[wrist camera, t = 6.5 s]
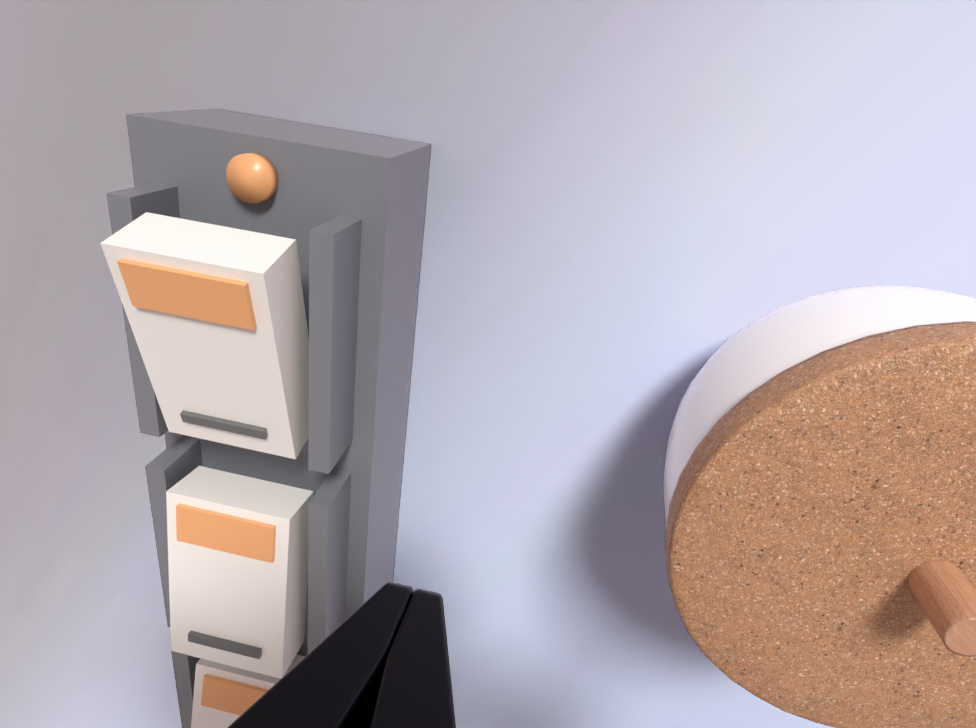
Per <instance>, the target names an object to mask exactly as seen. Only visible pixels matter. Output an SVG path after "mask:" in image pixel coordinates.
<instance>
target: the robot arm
mask: <svg viewBox="0 0 976 728" xmlns="http://www.w3.org/2000/svg"><path fill="white" fill-rule="evenodd" d="M227 728H456V724H455V714H454V704H453V694H452V685H451V675H450V665H449V655H448V646H447V636H446V626H445V616H444V607H443V598H442V596H441V595H440V594H439V593H435V592H431V591H427V590H423V589H417V590H416V591H415V592H414V589H413V588H412V587H410V586H406V585H401V584H397V583H393V582H389V583H386V584H385V585H384V586H383V587H381V588H380V589H379V590H378V591H377V592H376V593H375V594H374V595H373V596H372V597H370V598H369V599H368V600H367V601H366V602H365V603H364V604H363V605H362V606H361V607H359V608H358V609H357V610H356V611H355V612H354V613H353V614H352V615H351V616H350V617H348V618H347V619H346V620H345V621H344V622H343V623H342V624H341V625H340V626H339V627H337V628H336V629H335V630H334V631H333V632H332V633H331V634H330V635H329V636H328V637H326V638H325V639H324V640H323V641H322V642H321V643H320V644H319V645H318V646H317V647H315V648H314V649H313V650H312V651H311V652H310V653H309V654H308V655H307V656H306V657H304V658H303V659H302V660H301V661H300V662H299V663H298V664H297V665H296V666H295V667H293V668H292V669H291V670H290V671H289V672H288V673H287V674H286V675H285V676H284V677H282V678H281V679H280V680H279V681H278V682H277V683H276V684H275V685H274V686H273V687H271V688H270V689H269V690H268V691H267V692H266V693H265V694H264V695H263V696H262V697H260V698H259V699H258V700H257V701H256V702H255V703H254V704H253V705H252V706H251V707H249V708H248V709H247V710H246V711H245V712H244V713H243V714H242V715H241V716H240V717H238V718H237V719H236V720H235V721H234V722H233V723H232V724H231V725H230V726H229V727H227Z"/></svg>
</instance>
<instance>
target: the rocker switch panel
mask: <svg viewBox="0 0 976 728" xmlns="http://www.w3.org/2000/svg"><path fill="white" fill-rule="evenodd" d="M126 118H127V126H128V134H129V142H130V151H131V159H132V167H133V176H134V184H135V187H134V188H129V189H125V190H120V191H116V192H111V193H107V200H108V207H109V214H110V221H111V228H112V235H113V234H115V233H116V232H118V231H119V230H120V229H122V228H123V227H125V226H126V225H128V224H129V223H131V222H132V221H134V220H135V219H137V218H138V217H140V216H141V215H143V214H144V213H146V212H148V213H154V214H159V215H165V216H170V217H175V218H181V219H186V220H192V221H197V222H203V223H208V224H214V225H219V226H225V227H230V228H236V229H241V230H247V231H252V232H258V233H263V234H269V235H274V236H280V237H285V238H290V239H296V243H297V251H298V259H299V266H300V274H301V282H302V290H303V297H304V305H305V313H306V321H307V329H308V336H309V438H308V440H307V441H306V443H305V445H304V446H303V448H302V450H301V451H300V453H299V455H298V456H297V458H296V459H292V458H287V457H282V456H278V455H273V454H269V453H264V452H260V451H255V450H250V449H246V448H241V447H237V446H232V445H228V444H223V443H218V442H214V441H209V440H205V439H200V438H196V437H191V436H187V435H182V434H177V433H173V432H169V431H168V428H167V425H166V422H165V419H164V417H163V414H162V411H161V408H160V406H159V403H158V400H157V397H156V395H155V392H154V389H153V386H152V384H151V381H150V378H149V375H148V373H147V370H146V367H145V364H144V362H143V359H142V356H141V353H140V351H139V348H138V345H137V342H136V340H135V337H134V334H133V331H132V329H131V326H130V323H129V320H128V317H127V315H126V312H125V309H124V306H123V304H122V306H123V313H124V320H125V327H126V334H127V341H128V348H129V355H130V362H131V369H132V376H133V383H134V390H135V398H136V405H137V412H138V419H139V426H140V433H144V434H149V435H153V436H158V437H160V436H162V435H163V434H164V433H165V440H166V450H165V451H163V452H162V453H161V454H160V455H159V456H157V457H156V458H155V459H154V460H153V461H151V462H150V463H149V464H148V465H147V466H145V468H146V475H147V482H148V489H149V496H150V503H151V511H152V518H153V525H154V532H155V539H156V546H157V553H158V560H159V567H160V574H161V581H162V588H163V595H164V602H165V609H166V616H167V623H168V627H170V601H169V568H168V536H167V503H166V491H167V490H169V489H170V488H171V487H173V486H174V485H175V484H176V483H178V482H179V481H180V480H182V479H183V478H184V477H185V476H187V475H188V474H189V473H191V472H192V471H193V470H194V469H196V468H197V467H198V466H203V467H207V468H212V469H216V470H221V471H225V472H230V473H234V474H239V475H243V476H248V477H252V478H256V479H261V480H265V481H270V482H274V483H279V484H283V485H288V486H292V487H297V488H301V489H306V490H310V491H313V497H312V499H311V500H310V502H309V503H308V585H307V600H306V616H305V632H304V642H303V644H302V646H301V647H300V649H299V651H298V652H297V655H301V656H305V657H306V656H307V655H308V654H309V653H310V652H311V651H312V650H313V649H314V648H315V647H317V646H318V645H319V644H320V643H321V642H322V641H323V640H324V639H325V638H326V637H328V636H329V635H330V634H331V633H332V632H333V631H334V630H335V629H336V628H337V627H339V626H340V625H341V624H342V623H343V622H344V621H345V620H346V619H347V618H348V617H350V616H351V615H352V614H353V613H354V612H355V611H356V610H357V609H358V608H359V607H361V606H362V605H363V604H364V603H365V602H366V601H367V600H368V599H369V598H370V597H372V596H373V595H374V594H375V593H376V592H377V591H378V590H379V589H380V588H381V587H383V586H384V585H385V584H386V583H389V582H393V575H394V564H395V552H396V541H397V529H398V518H399V507H400V495H401V484H402V473H403V461H404V450H405V438H406V427H407V416H408V404H409V393H410V382H411V370H412V359H413V347H414V336H415V325H416V313H417V302H418V291H419V279H420V268H421V256H422V245H423V234H424V222H425V211H426V200H427V188H428V177H429V166H430V154H431V144H427V143H421V142H415V141H409V140H403V139H397V138H391V137H385V136H378V135H372V134H366V133H360V132H354V131H348V130H342V129H336V128H329V127H323V126H317V125H311V124H305V123H299V122H293V121H287V120H280V119H274V118H268V117H262V116H256V115H250V114H244V113H238V112H231V111H225V110H219V109H207V110H190V111H173V112H157V113H140V114H126ZM171 652H172V659H173V666H174V673H175V680H176V687H177V694H178V701H179V708H180V715H181V722H182V728H191V720H192V708H193V695H194V683H195V670H196V663H197V662H198V661H199V660H200V659H201V658H197V657H193V656H189V655H186V654H182V653H178V652H174V651H171Z"/></svg>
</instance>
